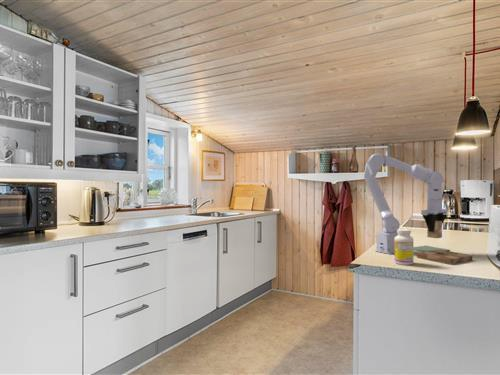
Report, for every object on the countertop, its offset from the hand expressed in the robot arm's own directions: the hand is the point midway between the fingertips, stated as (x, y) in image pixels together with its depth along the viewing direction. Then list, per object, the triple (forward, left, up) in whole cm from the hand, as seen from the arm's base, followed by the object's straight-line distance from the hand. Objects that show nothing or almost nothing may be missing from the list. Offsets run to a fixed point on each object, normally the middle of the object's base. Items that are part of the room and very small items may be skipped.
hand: (434, 231), depth 151 cm
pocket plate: (-7, -9, -10) cm, 15 cm away
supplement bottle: (-27, -6, -10) cm, 29 cm away
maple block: (0, 0, -3) cm, 3 cm away
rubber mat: (+5, +6, -10) cm, 12 cm away
